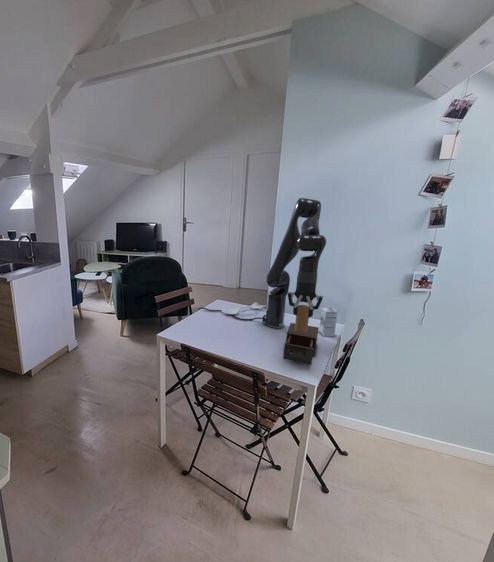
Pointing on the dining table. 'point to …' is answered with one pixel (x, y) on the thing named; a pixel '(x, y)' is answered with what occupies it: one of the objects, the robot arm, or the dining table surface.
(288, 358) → the drawer
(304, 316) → the tan wooden cylinder
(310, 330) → the cabinet
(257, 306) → the spoon
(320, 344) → the dining table surface
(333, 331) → the syrup box
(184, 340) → the dining table surface
